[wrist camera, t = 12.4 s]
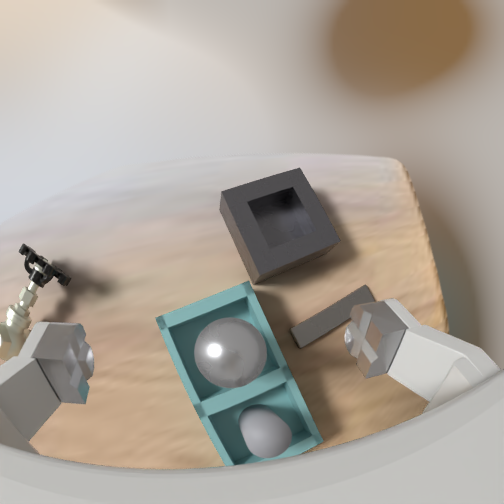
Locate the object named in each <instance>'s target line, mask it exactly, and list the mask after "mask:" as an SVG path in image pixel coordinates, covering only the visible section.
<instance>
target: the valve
mask: <svg viewBox="0 0 504 504" xmlns="http://www.w3.org/2000/svg"><path fill="white" fill-rule="evenodd" d="M19 253H21V254H22V255H25V256H26V258H25V263H24V265H25V269H26V271H27V272H28V273H29V274H30V275H29V279H30V280H31V283H30V285H29V287H28V288H27V287H23V289H22V291H21V293H20V295H19V298H20V300H21V301H20V303H16V304H15V306H13V305H9V307H8V310H7V312H6V315H7V319H6V321H5V322H1V323H0V358H1V359H2V360H4V361H8V360H9V359H11V358H12V357H13V356H17V357H18V355H19V353H20V351H21V349H22V347H23V345H24V343H25V342H26V340H27V338H28V336H29V334H30V330H28V328H29V326H30V324H31V321H32V320H31V318H30V317H29V314H30V312H29V310H28V308H29V306H31V307H33V306H34V304H35V302H36V300H37V298H38V296H37V294H36V291H37V289H38V287H39V286H40V287H42V288H43V287H44V285H45V284H46V283H48V282H49V281H50V280H51V279H52V278H53V276H55V277H56V278H58V282H59V283H60V284H61V285H63V286H65V285H66V286H67V285H68V284H69V282H70V280H71V277H69V276H68V275H66V274H65V273H62V270H60V269H59V268H58V267H56V266H53V265H52V264H50V263H49V262H48V260H47V259H46V258H44V257H43V256H39V255H38V254H37V253H36V252H35V251H34V250H33V249H32V248H30V247H29V246H27V245H25V244H23V245H22V246H21V248H20V250H19ZM34 262H35V263H37V264H36V265H35V266H34V268H33V269H31V268H30V266H29V263H31V264H34Z"/></svg>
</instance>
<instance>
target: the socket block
mask: <svg viewBox="0 0 504 504" xmlns="http://www.w3.org/2000/svg"><path fill="white" fill-rule="evenodd" d="M220 212H221V214H222V216H223V218H224V221H225V223H226V225H227V227H228V230H229V232H230V234H231V236H232V238H233V241H234V243H235V245H236V247H237V250H238V252H239V254H240V256H241V259H242V261H243V263H244V265H245V267H246V270H247V272H248V274H249V276H250V278H251V281H252V283H253V285H254V284H256V283H258V282H261V281H263V280H265V279H268V278H270V277H273V276H275V275H277V274H280V273H282V272H284V271H287V270H289V269H291V268H294V267H296V266H298V265H301V264H303V263H305V262H308V261H310V260H312V259H315V258H317V257H319V256H321V255H324V254H326V253H327V252H328V251H330V250H331V249H332V248H333V247H334V246H335V245H337V244H338V243H339V242H340V239H339V237H338V235H337V233H336V231H335V229H334V228H333V226H332V224H331V222H330V220H329V218H328V216H327V215H326V213H325V211H324V209H323V207H322V205H321V204H320V202H319V200H318V198H317V196H316V195H315V193H314V191H313V189H312V188H311V186H310V184H309V182H308V181H307V179H306V177H305V176H304V174H303V172H302V170H301V169H300V168H297V169H294V170H290V171H287V172H283V173H280V174H276V175H273V176H270V177H266V178H263V179H260V180H256V181H253V182H250V183H247V184H244V185H240V186H237V187H234V188H231V189H228V190H225V191H222V192H221V201H220Z"/></svg>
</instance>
